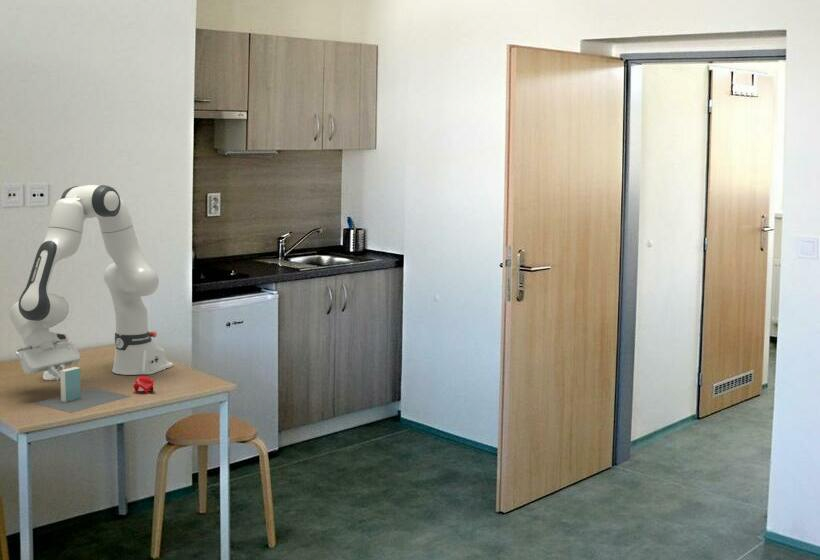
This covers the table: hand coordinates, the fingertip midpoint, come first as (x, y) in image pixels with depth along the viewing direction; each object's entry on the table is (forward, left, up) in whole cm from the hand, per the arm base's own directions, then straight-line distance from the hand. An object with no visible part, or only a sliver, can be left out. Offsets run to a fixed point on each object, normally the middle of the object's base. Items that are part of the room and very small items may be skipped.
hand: (62, 378), depth 330 cm
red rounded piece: (-21, +15, -7) cm, 27 cm away
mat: (-2, +7, -7) cm, 10 cm away
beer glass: (-16, -25, -7) cm, 31 cm away
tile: (0, +4, -6) cm, 7 cm away
